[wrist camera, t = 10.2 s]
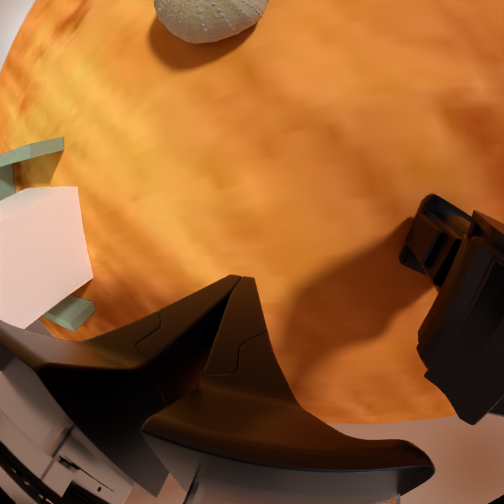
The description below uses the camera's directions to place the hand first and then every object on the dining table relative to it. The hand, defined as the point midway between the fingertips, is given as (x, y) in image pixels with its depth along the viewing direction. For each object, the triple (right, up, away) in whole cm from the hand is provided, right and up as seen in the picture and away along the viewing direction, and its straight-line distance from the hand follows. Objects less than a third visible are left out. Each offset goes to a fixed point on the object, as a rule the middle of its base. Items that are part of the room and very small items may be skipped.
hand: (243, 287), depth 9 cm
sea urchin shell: (-2, +22, +6) cm, 23 cm away
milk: (-25, +4, +19) cm, 32 cm away
